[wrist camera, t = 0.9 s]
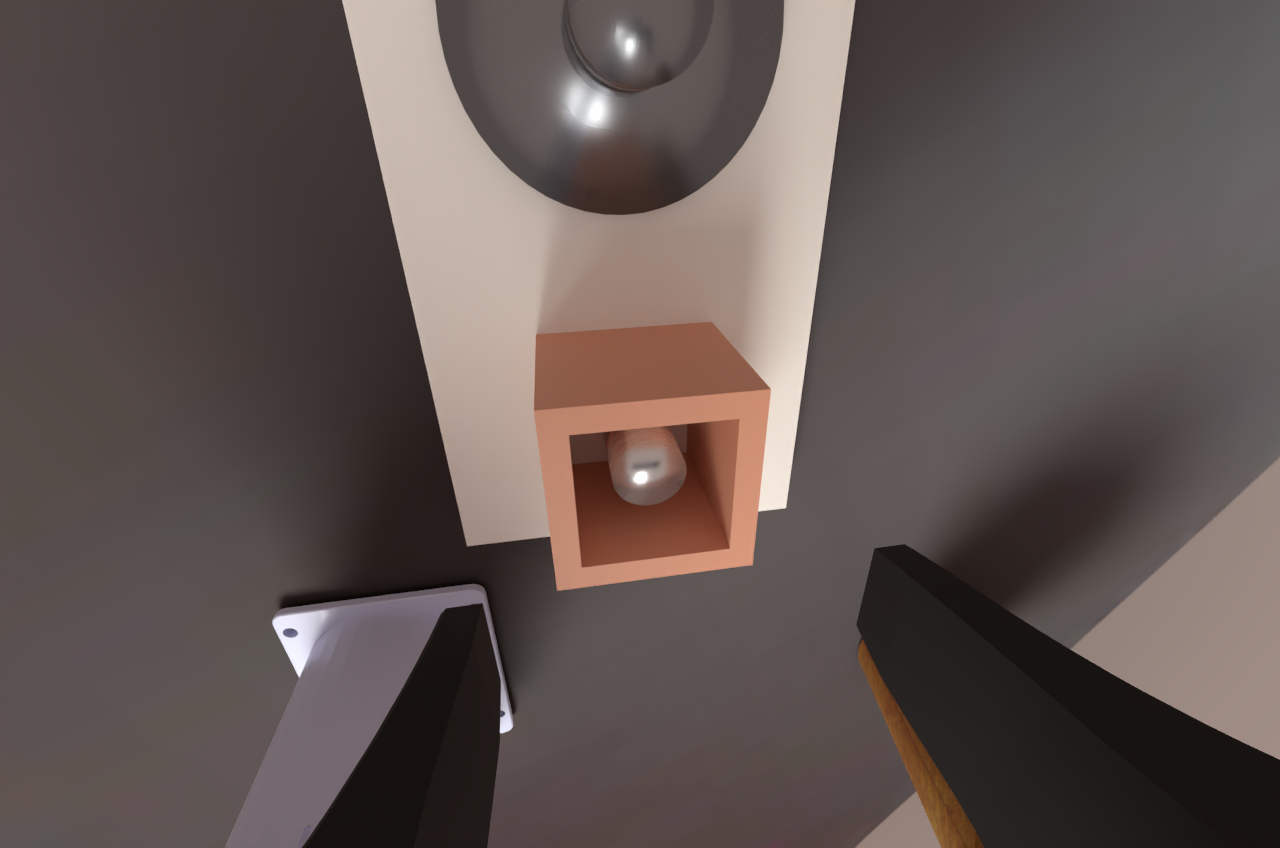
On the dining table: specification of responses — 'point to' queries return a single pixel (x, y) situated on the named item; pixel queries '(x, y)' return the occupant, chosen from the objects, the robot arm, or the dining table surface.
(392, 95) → the board
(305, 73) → the dining table surface
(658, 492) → the stand rod
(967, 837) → the disposable coffee cup
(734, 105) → the disc
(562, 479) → the collar
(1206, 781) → the robot arm
